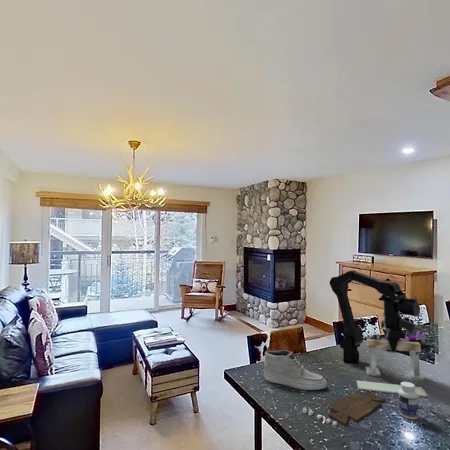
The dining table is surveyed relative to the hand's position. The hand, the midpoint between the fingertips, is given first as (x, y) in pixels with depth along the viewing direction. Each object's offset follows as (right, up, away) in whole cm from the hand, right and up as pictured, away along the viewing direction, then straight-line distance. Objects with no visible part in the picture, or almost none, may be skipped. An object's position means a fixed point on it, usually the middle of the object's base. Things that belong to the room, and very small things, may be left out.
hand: (392, 349), depth 137 cm
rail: (0, 0, 0) cm, 0 cm away
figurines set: (-41, -9, -34) cm, 54 cm away
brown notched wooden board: (-26, -10, -27) cm, 39 cm away
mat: (-8, -10, -14) cm, 19 cm away
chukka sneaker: (-43, -11, -8) cm, 45 cm away
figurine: (+23, -13, +35) cm, 44 cm away
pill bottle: (-12, -9, -32) cm, 36 cm away
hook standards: (0, -10, 0) cm, 10 cm away
